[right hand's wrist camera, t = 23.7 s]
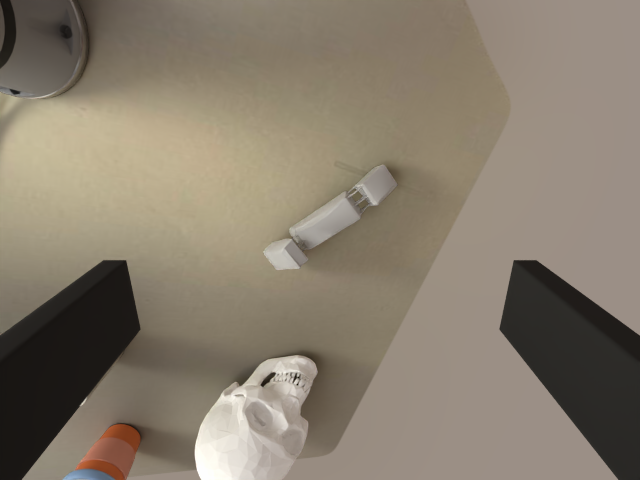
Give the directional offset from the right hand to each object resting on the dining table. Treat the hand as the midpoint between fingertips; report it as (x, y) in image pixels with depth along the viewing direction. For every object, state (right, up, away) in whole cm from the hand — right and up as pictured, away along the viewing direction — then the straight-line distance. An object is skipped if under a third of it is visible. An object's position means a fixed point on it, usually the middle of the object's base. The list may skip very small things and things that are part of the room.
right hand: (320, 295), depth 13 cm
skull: (-9, -23, +49) cm, 55 cm away
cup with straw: (-35, -33, +52) cm, 71 cm away
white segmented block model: (+1, +5, +38) cm, 38 cm away
